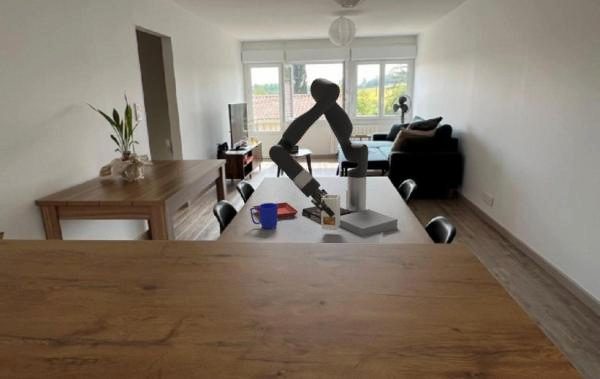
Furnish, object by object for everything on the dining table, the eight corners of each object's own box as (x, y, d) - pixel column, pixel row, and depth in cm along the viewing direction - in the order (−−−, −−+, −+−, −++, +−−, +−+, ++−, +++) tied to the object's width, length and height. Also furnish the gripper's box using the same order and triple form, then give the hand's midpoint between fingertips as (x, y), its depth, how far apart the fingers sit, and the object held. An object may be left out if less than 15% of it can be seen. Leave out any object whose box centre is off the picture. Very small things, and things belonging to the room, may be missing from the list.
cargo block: (324, 226, 152) (324, 216, 151) (327, 222, 155) (327, 213, 154) (334, 226, 150) (334, 217, 149) (336, 223, 154) (336, 214, 153)
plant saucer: (286, 207, 196) (286, 201, 195) (298, 217, 179) (298, 211, 179) (252, 212, 190) (252, 205, 189) (262, 222, 173) (262, 216, 172)
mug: (251, 224, 170) (250, 203, 167) (278, 223, 171) (277, 202, 168) (250, 231, 162) (249, 209, 159) (278, 229, 163) (277, 207, 160)
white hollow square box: (321, 229, 151) (321, 198, 148) (325, 223, 157) (324, 194, 154) (336, 230, 149) (337, 199, 146) (340, 225, 155) (340, 194, 152)
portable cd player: (301, 216, 181) (301, 209, 180) (331, 211, 189) (331, 203, 188) (320, 226, 167) (319, 218, 166) (350, 219, 175) (350, 211, 174)
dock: (334, 225, 166) (334, 217, 165) (368, 217, 176) (368, 209, 175) (362, 238, 151) (362, 228, 150) (397, 228, 162) (397, 219, 161)
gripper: (307, 181, 143) (337, 212, 143) (317, 173, 157) (344, 202, 156) (294, 193, 146) (324, 224, 146) (305, 185, 160) (332, 213, 159)
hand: (334, 212), depth 151 cm, fingers closed on white hollow square box, 6 cm apart
